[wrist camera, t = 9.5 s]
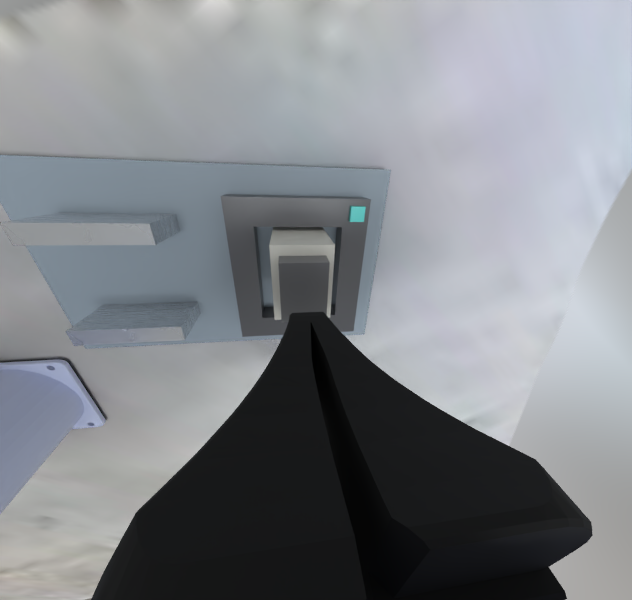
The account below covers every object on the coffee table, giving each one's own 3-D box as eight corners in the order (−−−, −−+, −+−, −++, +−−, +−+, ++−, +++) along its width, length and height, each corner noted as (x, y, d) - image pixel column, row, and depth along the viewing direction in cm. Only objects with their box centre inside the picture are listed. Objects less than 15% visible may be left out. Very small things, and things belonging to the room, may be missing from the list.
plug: (276, 284, 16) (273, 331, 11) (273, 225, 14) (267, 251, 9) (319, 283, 16) (333, 328, 12) (321, 225, 15) (339, 251, 10)
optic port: (245, 324, 17) (241, 339, 16) (226, 194, 13) (218, 196, 11) (348, 320, 18) (354, 333, 17) (362, 197, 14) (372, 200, 12)
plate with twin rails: (109, 317, 16) (74, 345, 13) (58, 212, 13) (-1, 222, 10) (200, 313, 16) (185, 340, 14) (175, 213, 13) (149, 223, 11)
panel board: (95, 339, 18) (85, 348, 17) (-6, 155, 12) (-28, 154, 11) (360, 327, 20) (364, 334, 19) (384, 169, 14) (390, 169, 13)
